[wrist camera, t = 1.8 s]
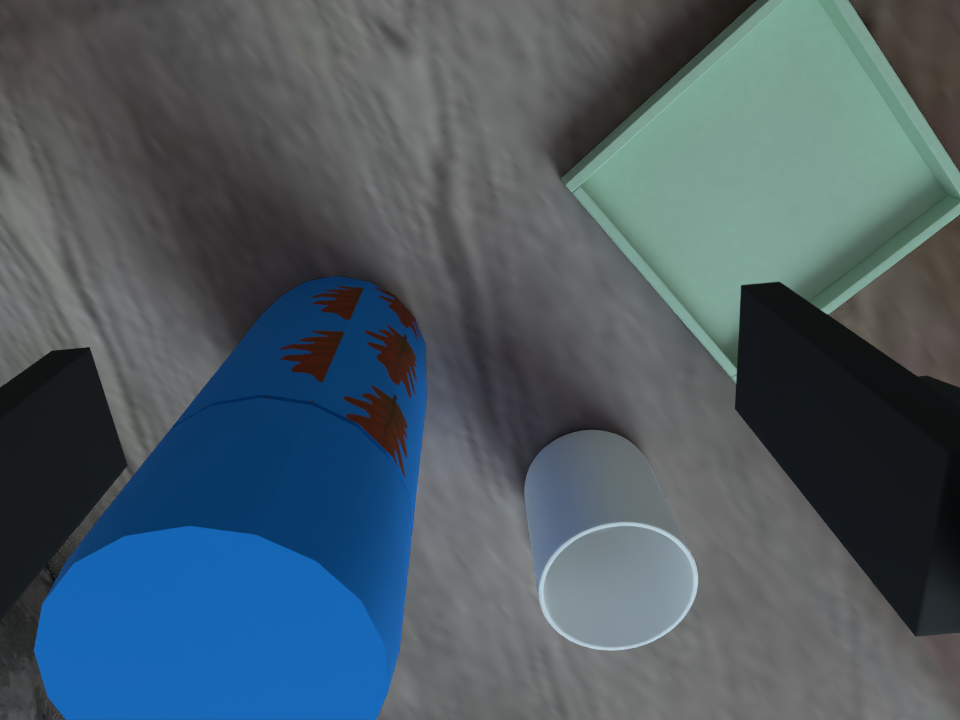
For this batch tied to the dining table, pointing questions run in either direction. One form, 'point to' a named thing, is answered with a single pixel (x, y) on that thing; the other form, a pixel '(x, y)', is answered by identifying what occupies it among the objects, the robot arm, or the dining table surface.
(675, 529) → the mug
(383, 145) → the dining table surface
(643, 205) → the tray
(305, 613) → the thermos
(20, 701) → the clay pot
